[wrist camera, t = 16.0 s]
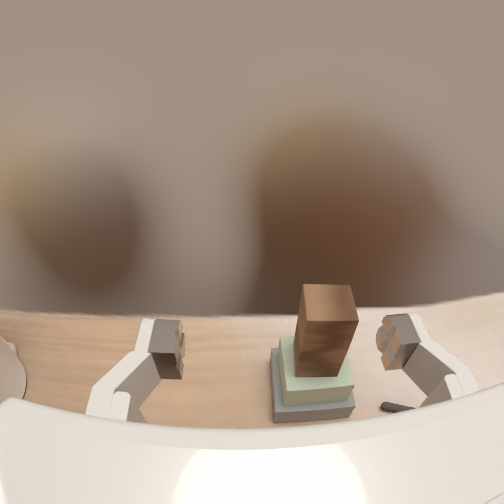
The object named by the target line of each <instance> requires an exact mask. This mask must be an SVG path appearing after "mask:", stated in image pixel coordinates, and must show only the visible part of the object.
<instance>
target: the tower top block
mask: <svg viewBox="0 0 504 504" xmlns="http://www.w3.org/2000/svg"><path fill="white" fill-rule="evenodd" d="M294 338H295V336H289V337H280V342H279V350H278V361H279V370H280V378H281V387H282V396H283V405H284V407H285V406H299V405H311V404H321V403H330V402H338V401H346V400H347V399H348V397H349V395H350V393H351V392H352V390H353V388H354V386H355V383H354V379H353V375H352V371H351V368H350V364H349V360H348V357H347V354H346V356H345V359H344V361H343V364H342V366H341V369H340V371H339V374H338V376H337V377H295V369H294V345H293V343H294Z"/></svg>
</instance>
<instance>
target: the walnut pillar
mask: <svg viewBox="0 0 504 504" xmlns="http://www.w3.org/2000/svg"><path fill="white" fill-rule="evenodd" d="M358 322H359V319H358V315H357V311H356V307H355V303H354V299H353V295H352V291H351V287H350V285H318V284H316V285H314V284H303V289H302V296H301V302H300V308H299V314H298V320H297V326H296V332H295V338H294V343H293V345H294V369H295V377H337V376H338V374H339V371H340V369H341V366H342V364H343V361H344V359H345V356H346V354H347V351H348V349H349V346H350V343H351V341H352V338H353V335H354V333H355V330H356V327H357V325H358Z"/></svg>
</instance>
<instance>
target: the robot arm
mask: <svg viewBox="0 0 504 504" xmlns="http://www.w3.org/2000/svg"><path fill="white" fill-rule="evenodd" d="M382 323H383V325H382V326H381V327H380V328H379V329H378V331H377V334H376V344H377V348H378V350H379V351H380V352H382V353H383V354H382V357H381V359H382V362H383V365H384V368H385V371H387V370H395V369H402V370H403V371H404V372H405V373H406V374H407V375H408V376H409V377H410V378H411V379H412V380H413V382H414V383H415V384H416V385H417V386H418V387H419V388H420V389H421V390H422V391H423V392H424V393H425V394H426V395H427V396H428V397H427V398H426V399H425V400H424V401H423V402H422V404H421V405H420V408H415V409H411V410H406V411H401V412H397V413H391V414H386V415H381V416H375V417H369V418H363V419H356V420H349V421H342V422H334V423H325V424H315V425H304V426H290V427H272V428H199V427H181V426H167V425H156V424H147V422H146V420H145V419H144V417H143V415H142V414H141V412H140V411H139V409H138V408H139V407H140V406H141V405H142V403H143V402H144V401H145V400H146V398H147V397H148V396H149V395H150V393H151V392H152V391H153V390H154V388H155V387H156V386H157V385H158V383H159V382H160V381H161V379H180V380H182V374H183V366H184V365H183V361H182V358H183V357H184V356H185V335H184V333H183V332H182V328H183V325H182V321H181V320H165V319H147V318H144V319H143V320H142V322H141V325H140V329H139V333H138V337H137V341H136V345H135V349H134V351H130V352H129V353H128V354H127V355H126V356H125V357H124V358H123V359H122V360H121V361H120V362H118V363H117V364H116V365H115V366H114V367H113V368H112V369H111V370H110V371H109V372H108V373H107V374H106V375H105V376H104V377H102V378H101V379H100V380H99V381H98V382H97V383H96V384H95V385H94V386H93V387H92V391H91V394H90V398H89V402H88V406H87V410H86V414H81V413H76V412H71V411H67V410H62V409H58V408H54V407H50V406H46V405H42V404H38V403H34V402H31V401H27V400H24V399H22V398H23V395H24V392H25V388H26V372H25V369H24V366H23V365H22V363H21V361H20V360H19V358H18V356H17V349H16V346H15V345H14V344H13V343H12V342H6V341H5V340H4V339H3V338H2V337H1V335H0V504H504V382H503V383H500V384H497V385H495V386H492V387H489V388H486V389H483V390H479V388H478V385H477V383H476V381H475V379H474V376H473V374H472V372H471V370H470V368H469V367H467V366H466V365H465V364H463V363H462V362H461V361H460V360H458V359H457V358H456V357H455V356H453V355H452V354H451V353H449V352H448V351H447V350H446V349H444V348H443V347H442V346H440V345H439V344H438V343H437V342H435V341H431V339H430V337H429V334H428V332H427V330H426V328H425V326H424V324H423V322H422V320H421V318H420V316H419V314H418V313H407V314H395V315H386V316H385V317H384V318H383V320H382Z"/></svg>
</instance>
